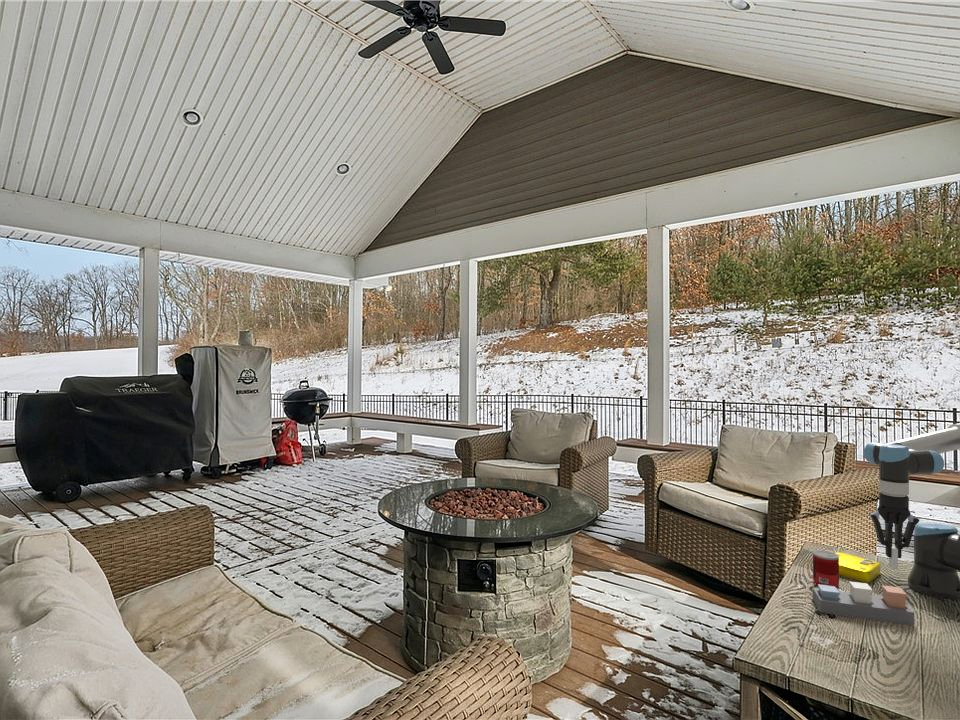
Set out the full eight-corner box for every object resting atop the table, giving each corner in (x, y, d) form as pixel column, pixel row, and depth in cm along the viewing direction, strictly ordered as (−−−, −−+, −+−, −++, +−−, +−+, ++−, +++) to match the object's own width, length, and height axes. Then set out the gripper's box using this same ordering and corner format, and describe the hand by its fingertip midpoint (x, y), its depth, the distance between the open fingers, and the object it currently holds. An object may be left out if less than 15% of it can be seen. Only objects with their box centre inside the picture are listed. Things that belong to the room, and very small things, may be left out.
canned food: (844, 588, 189) (844, 558, 189) (821, 588, 189) (821, 558, 189) (830, 579, 196) (830, 550, 196) (808, 579, 197) (808, 550, 196)
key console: (900, 610, 173) (900, 598, 173) (914, 625, 163) (914, 612, 163) (812, 599, 181) (812, 587, 181) (820, 612, 172) (820, 600, 172)
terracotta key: (900, 602, 171) (900, 587, 170) (906, 610, 166) (906, 594, 166) (881, 600, 172) (881, 585, 172) (887, 607, 168) (887, 591, 167)
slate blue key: (835, 601, 177) (835, 586, 177) (839, 608, 172) (839, 592, 172) (817, 599, 178) (817, 584, 178) (821, 605, 174) (821, 590, 174)
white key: (867, 598, 174) (867, 583, 174) (872, 605, 169) (872, 590, 169) (849, 596, 175) (849, 581, 175) (854, 603, 171) (854, 587, 171)
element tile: (837, 561, 214) (837, 550, 214) (882, 573, 202) (882, 561, 202) (822, 571, 205) (822, 558, 205) (868, 584, 193) (868, 571, 193)
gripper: (913, 492, 170) (913, 565, 170) (865, 489, 174) (865, 560, 175) (924, 498, 163) (923, 574, 163) (873, 494, 167) (873, 569, 168)
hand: (893, 567), depth 169 cm, fingers closed
